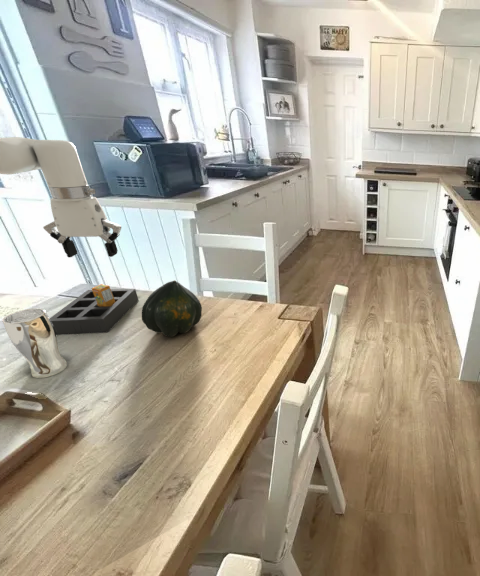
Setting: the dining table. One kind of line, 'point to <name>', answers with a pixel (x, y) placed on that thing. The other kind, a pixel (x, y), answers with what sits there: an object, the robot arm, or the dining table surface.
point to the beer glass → (35, 341)
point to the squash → (171, 309)
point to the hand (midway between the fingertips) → (93, 255)
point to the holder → (93, 313)
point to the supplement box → (103, 295)
